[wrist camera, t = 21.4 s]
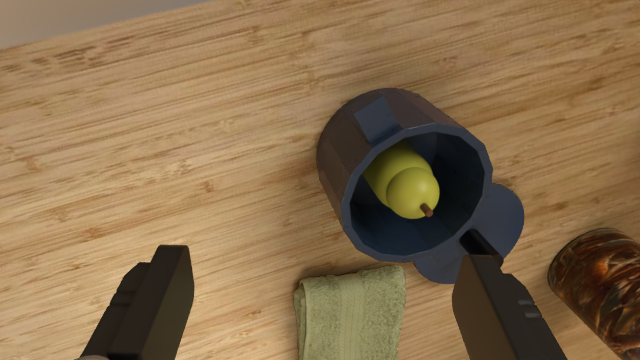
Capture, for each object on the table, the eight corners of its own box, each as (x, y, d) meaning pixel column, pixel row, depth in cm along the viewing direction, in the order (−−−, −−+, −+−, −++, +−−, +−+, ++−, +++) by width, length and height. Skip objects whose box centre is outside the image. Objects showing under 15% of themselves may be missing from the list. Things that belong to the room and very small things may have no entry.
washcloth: (293, 379, 53) (298, 402, 51) (290, 272, 45) (296, 294, 42) (391, 359, 56) (400, 380, 53) (406, 255, 47) (418, 274, 45)
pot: (401, 32, 35) (453, 57, 27) (465, 183, 44) (515, 231, 37) (274, 113, 35) (292, 157, 28) (363, 244, 45) (393, 302, 38)
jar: (546, 307, 59) (641, 409, 46) (547, 247, 52) (656, 346, 40) (623, 275, 59) (737, 368, 46) (632, 212, 53) (767, 299, 40)
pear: (394, 119, 38) (448, 171, 29) (414, 160, 41) (469, 218, 32) (346, 148, 38) (387, 208, 30) (369, 187, 41) (412, 252, 32)
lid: (501, 156, 44) (538, 183, 39) (528, 238, 51) (562, 269, 46) (389, 223, 44) (412, 258, 40) (431, 294, 52) (455, 331, 47)
